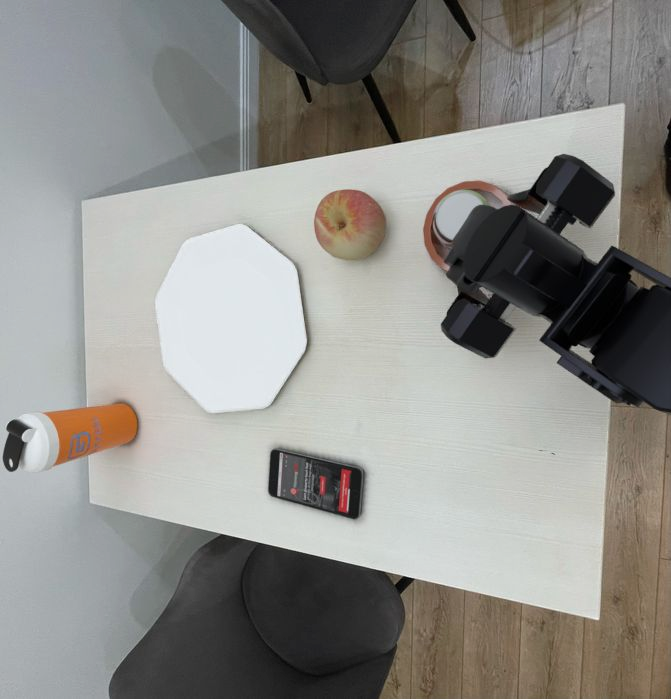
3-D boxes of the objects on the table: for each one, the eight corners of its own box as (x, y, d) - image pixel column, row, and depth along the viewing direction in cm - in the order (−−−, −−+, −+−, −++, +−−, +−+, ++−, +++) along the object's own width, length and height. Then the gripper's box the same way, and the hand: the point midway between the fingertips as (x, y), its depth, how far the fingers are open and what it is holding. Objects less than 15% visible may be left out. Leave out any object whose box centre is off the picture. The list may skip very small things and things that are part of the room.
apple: (335, 199, 74) (305, 186, 67) (396, 195, 70) (371, 181, 63) (333, 263, 74) (303, 257, 67) (393, 263, 70) (368, 257, 63)
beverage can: (439, 227, 67) (406, 210, 56) (494, 195, 63) (470, 171, 53) (460, 272, 66) (431, 264, 55) (517, 243, 63) (498, 227, 52)
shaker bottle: (104, 441, 97) (-9, 469, 80) (107, 393, 96) (-6, 410, 79) (140, 453, 93) (29, 485, 76) (144, 403, 92) (32, 424, 75)
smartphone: (358, 520, 74) (267, 495, 80) (360, 519, 74) (270, 494, 81) (362, 469, 73) (270, 448, 80) (364, 467, 74) (273, 447, 80)
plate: (320, 402, 76) (315, 403, 75) (176, 416, 89) (169, 417, 88) (293, 210, 77) (287, 208, 75) (153, 251, 89) (146, 250, 88)
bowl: (533, 194, 62) (528, 186, 58) (509, 286, 64) (502, 284, 60) (445, 183, 67) (435, 174, 63) (425, 269, 68) (414, 266, 64)
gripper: (575, 127, 37) (479, 113, 51) (425, 347, 43) (375, 280, 56) (673, 205, 41) (560, 172, 55) (525, 395, 47) (456, 323, 61)
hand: (484, 238), depth 57 cm, fingers open, 9 cm apart
